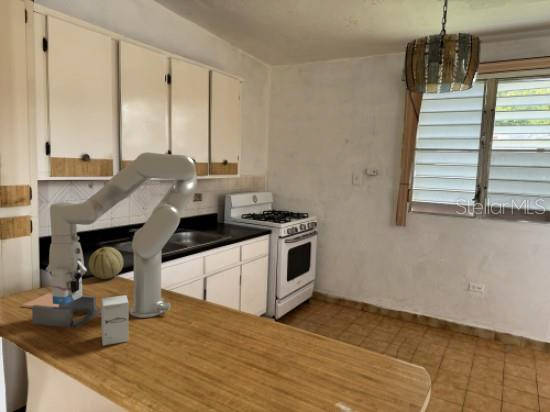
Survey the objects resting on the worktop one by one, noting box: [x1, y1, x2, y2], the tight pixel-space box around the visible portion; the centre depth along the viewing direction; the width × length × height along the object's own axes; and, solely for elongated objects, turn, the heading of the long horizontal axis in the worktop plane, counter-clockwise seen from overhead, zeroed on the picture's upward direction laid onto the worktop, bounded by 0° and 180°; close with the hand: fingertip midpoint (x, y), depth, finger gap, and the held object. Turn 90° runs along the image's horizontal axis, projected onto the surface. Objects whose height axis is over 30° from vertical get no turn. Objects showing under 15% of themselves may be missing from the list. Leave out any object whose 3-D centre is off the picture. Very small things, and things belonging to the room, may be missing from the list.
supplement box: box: [100, 294, 130, 347], centre depth 113 cm, size 7×7×13 cm
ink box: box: [51, 267, 83, 305], centre depth 126 cm, size 8×5×12 cm, turn 168°
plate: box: [21, 292, 59, 309], centre depth 140 cm, size 13×13×1 cm
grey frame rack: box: [31, 294, 101, 329], centre depth 127 cm, size 16×13×6 cm
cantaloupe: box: [88, 246, 124, 280], centre depth 171 cm, size 15×15×15 cm
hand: (67, 290), depth 126 cm, fingers closed on ink box, 5 cm apart
